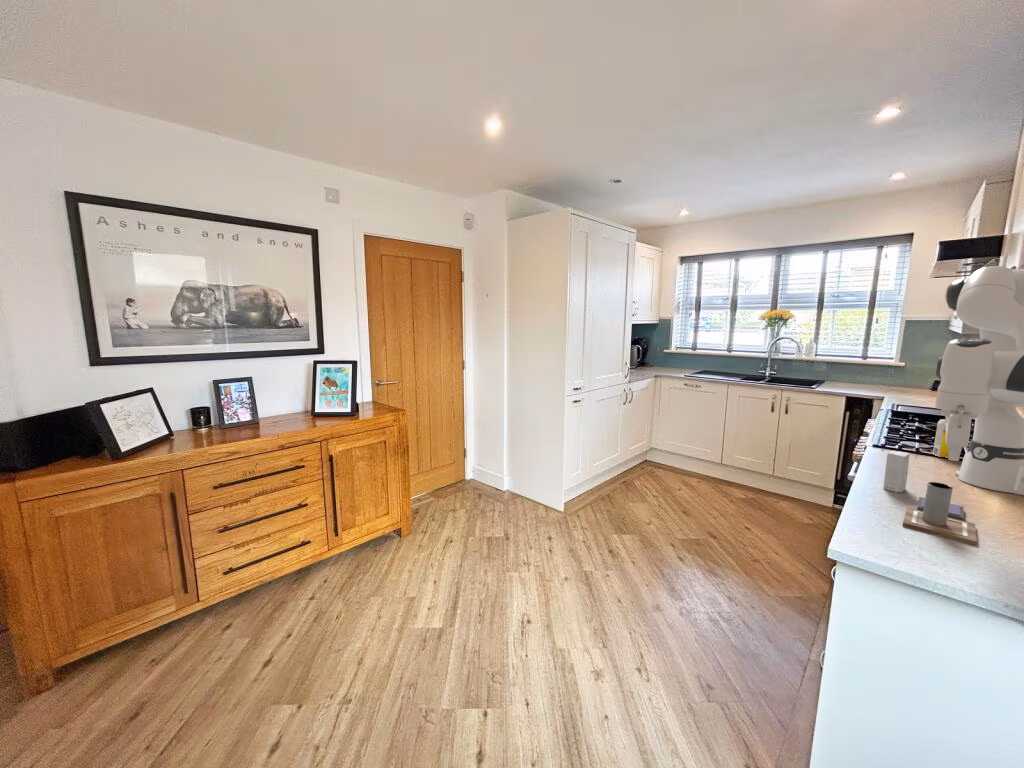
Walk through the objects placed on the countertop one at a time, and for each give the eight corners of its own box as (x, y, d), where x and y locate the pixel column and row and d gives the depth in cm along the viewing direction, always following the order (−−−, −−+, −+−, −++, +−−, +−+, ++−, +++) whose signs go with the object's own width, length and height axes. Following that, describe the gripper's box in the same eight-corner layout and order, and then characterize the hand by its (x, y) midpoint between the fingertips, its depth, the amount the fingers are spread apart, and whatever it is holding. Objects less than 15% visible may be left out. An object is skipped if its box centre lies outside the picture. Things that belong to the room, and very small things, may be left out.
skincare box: (900, 493, 128) (905, 456, 126) (881, 488, 132) (887, 453, 130) (906, 489, 132) (911, 453, 130) (888, 484, 135) (893, 449, 134)
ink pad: (918, 500, 123) (919, 495, 123) (962, 510, 117) (963, 505, 116) (916, 510, 116) (917, 506, 116) (963, 522, 110) (964, 516, 110)
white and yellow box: (959, 459, 159) (965, 422, 157) (943, 459, 160) (949, 422, 157) (943, 454, 165) (949, 419, 163) (928, 454, 166) (933, 419, 163)
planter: (920, 521, 108) (926, 484, 107) (923, 516, 111) (928, 480, 110) (945, 527, 105) (951, 490, 103) (947, 522, 108) (953, 485, 106)
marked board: (906, 510, 117) (907, 506, 116) (974, 527, 107) (975, 523, 107) (902, 526, 108) (903, 521, 108) (976, 545, 98) (976, 541, 98)
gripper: (982, 411, 93) (973, 469, 95) (978, 398, 107) (970, 449, 109) (942, 407, 97) (934, 462, 100) (943, 396, 111) (936, 444, 113)
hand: (953, 455), depth 104 cm, fingers open, 8 cm apart
